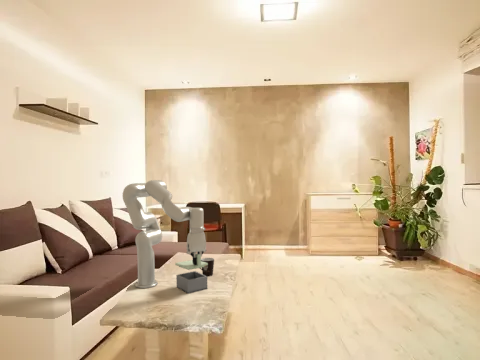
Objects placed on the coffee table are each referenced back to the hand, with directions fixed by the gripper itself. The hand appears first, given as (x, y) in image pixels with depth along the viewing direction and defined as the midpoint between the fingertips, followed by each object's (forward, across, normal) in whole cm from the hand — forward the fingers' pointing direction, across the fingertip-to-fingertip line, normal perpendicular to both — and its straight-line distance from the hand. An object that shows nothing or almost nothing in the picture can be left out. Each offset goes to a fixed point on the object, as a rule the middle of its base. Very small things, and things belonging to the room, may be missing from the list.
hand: (196, 263), depth 180 cm
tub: (+15, 0, -6) cm, 16 cm away
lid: (+3, 0, -5) cm, 5 cm away
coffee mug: (+15, -20, -24) cm, 35 cm away
